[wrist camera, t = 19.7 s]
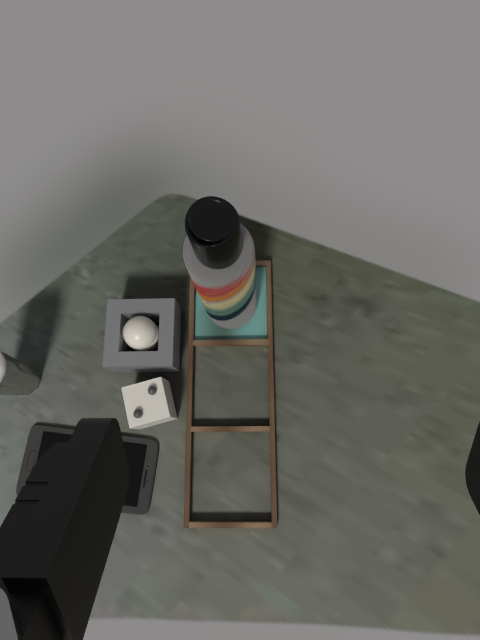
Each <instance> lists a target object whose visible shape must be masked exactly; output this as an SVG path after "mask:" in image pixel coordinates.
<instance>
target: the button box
mask: <svg viewBox="0 0 480 640" xmlns="http://www.w3.org/2000/svg"><path fill="white" fill-rule="evenodd" d="M181 314H182V309H181V307H180V306H179V304H178V303H177V301H176V299H175V298H157V299H108V301H107V314H106V327H105V340H104V353H103V367H104V368H106V369H109V370H111V371H113V372H115V373H121V372H180V347H181ZM136 316H144V317H147V318H149V319H151V320H152V321H153V322H154V323H159V339H158V351H130V349H131V347H130V346H129V345H128V344H127V343H126V342H125V340H124V337H123V329H124V326H125V324H126V323H127V321H128V320H130V319H131V318H133V317H136Z"/></svg>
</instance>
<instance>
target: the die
mask: <svg viewBox="0 0 480 640" xmlns="http://www.w3.org/2000/svg"><path fill="white" fill-rule="evenodd" d="M122 393H123V398H124V403H125V408H126V413H127V418H128V423H129V428H133V429H143V428H147V427H150V426H154V425H157V424H161V423H164V422H168V421H171V420H175V419H178V417H177V413H176V409H175V404H174V400H173V396H172V391H171V387H170V382H169V381H167V380H166V379H164V378H162V377H158V378H154V379H151V380H147V381H144V382H140V383H136V384H133V385H129V386H126V387H122Z"/></svg>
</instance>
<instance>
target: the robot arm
mask: <svg viewBox="0 0 480 640" xmlns="http://www.w3.org/2000/svg"><path fill="white" fill-rule="evenodd" d="M465 476H466V484H467V488H468V491H469V494H470V496H471V498H472V500H473V502H474V504H475V506H476V508H477V510H478V512H479V514H480V422H479V425H478V428H477V431H476V435H475V438H474V441H473V444H472V448H471V451H470V454H469V457H468V461H467V464H466V470H465ZM128 484H129V465H128V461H127V456H126V452H125V448H124V444H123V439H122V435H121V431H120V426H119V423H118V421H117V419H115V418H83V419H81V420H80V421H79V422H78V424H77V426H76V428H75V430H74V432H73V434H72V436H71V438H70V440H69V442H56V443H55V444H54V445H53V446H52V447H51V448H50V449H49V450H48V451H47V452H46V453H45V454H43V455H42V456H41V457H40V458H39V459H38V460H37V462H36V463H35V465H34V467H33V469H32V471H31V472H30V474H29V476H28V478H27V480H26V482H25V486H23V487H22V489H21V491H20V492H19V494H18V496H17V498H16V502H15V504H13V505H12V507H11V509H10V511H9V512H8V514H7V516H6V518H5V520H4V521H3V523H2V525H1V527H0V640H83V637H84V634H85V630H86V627H87V624H88V620H89V617H90V614H91V610H92V607H93V604H94V601H95V597H96V594H97V591H98V587H99V584H100V581H101V577H102V574H103V571H104V567H105V564H106V561H107V557H108V554H109V551H110V547H111V544H112V541H113V538H114V534H115V531H116V528H117V524H118V521H119V518H120V514H121V511H122V508H123V504H124V501H125V498H126V494H127V490H128Z"/></svg>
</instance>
